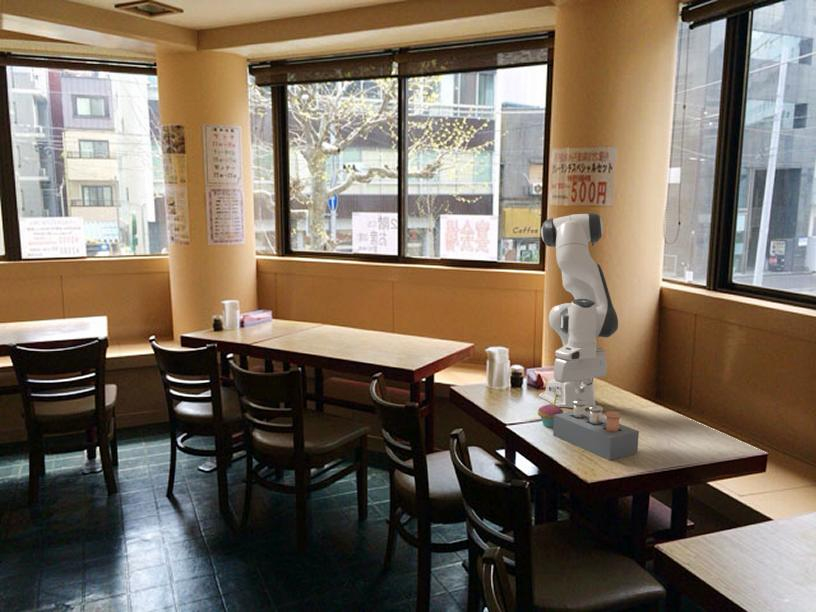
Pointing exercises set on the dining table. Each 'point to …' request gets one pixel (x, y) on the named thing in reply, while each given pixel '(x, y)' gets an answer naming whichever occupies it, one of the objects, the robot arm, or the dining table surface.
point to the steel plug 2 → (595, 414)
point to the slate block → (596, 436)
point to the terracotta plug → (612, 421)
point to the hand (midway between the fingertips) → (580, 392)
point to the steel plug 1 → (579, 408)
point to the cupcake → (549, 413)
